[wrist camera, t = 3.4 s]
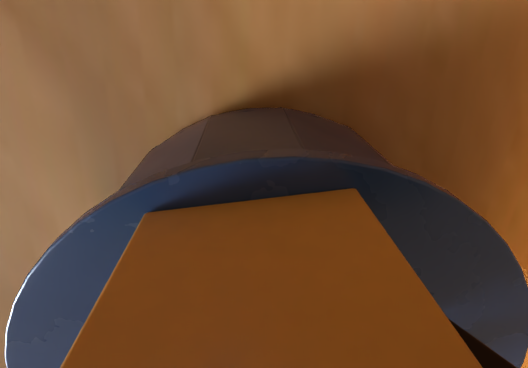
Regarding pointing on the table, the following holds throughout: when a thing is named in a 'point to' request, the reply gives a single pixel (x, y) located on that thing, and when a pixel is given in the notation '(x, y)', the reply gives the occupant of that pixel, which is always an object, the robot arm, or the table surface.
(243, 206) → the block
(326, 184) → the tin lid
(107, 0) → the table surface
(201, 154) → the tin
